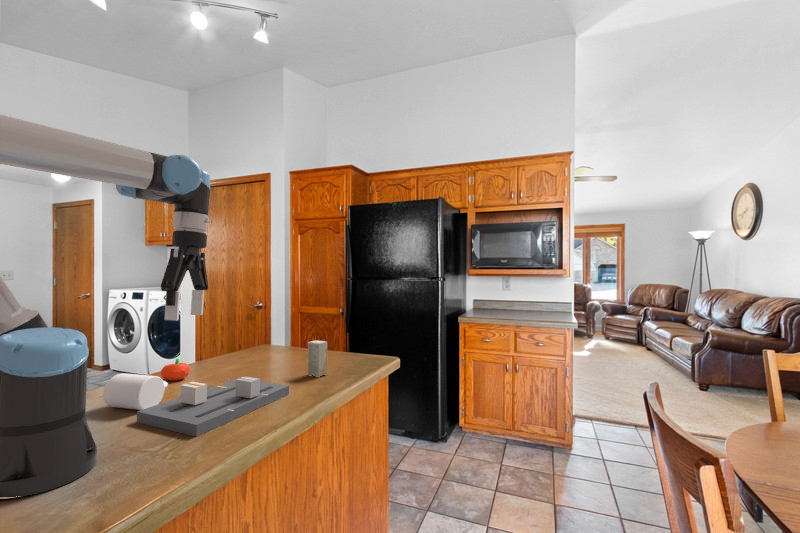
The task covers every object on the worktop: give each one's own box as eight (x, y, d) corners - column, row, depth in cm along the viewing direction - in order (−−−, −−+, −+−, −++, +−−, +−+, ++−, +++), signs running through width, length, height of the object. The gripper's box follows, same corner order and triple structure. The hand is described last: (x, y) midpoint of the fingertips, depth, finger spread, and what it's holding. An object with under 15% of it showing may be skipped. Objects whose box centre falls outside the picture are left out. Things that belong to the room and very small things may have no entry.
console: (199, 437, 79) (200, 425, 79) (136, 422, 86) (137, 410, 86) (291, 394, 107) (291, 385, 107) (238, 386, 114) (238, 377, 114)
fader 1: (195, 405, 90) (195, 387, 90) (180, 402, 91) (180, 384, 91) (206, 400, 93) (207, 383, 93) (191, 398, 94) (192, 380, 94)
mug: (137, 415, 90) (138, 381, 90) (102, 411, 92) (103, 377, 92) (176, 399, 102) (177, 368, 102) (144, 395, 104) (145, 366, 104)
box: (327, 375, 128) (328, 341, 128) (318, 378, 124) (319, 343, 124) (316, 372, 131) (316, 339, 131) (306, 375, 127) (307, 341, 127)
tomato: (158, 381, 119) (158, 360, 120) (187, 377, 124) (186, 356, 125) (163, 383, 114) (163, 361, 114) (193, 379, 119) (193, 357, 120)
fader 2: (250, 398, 95) (250, 381, 95) (235, 395, 97) (235, 378, 97) (259, 394, 98) (260, 378, 98) (244, 392, 100) (245, 375, 100)
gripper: (183, 225, 84) (176, 323, 83) (223, 237, 109) (219, 313, 108) (146, 223, 83) (139, 322, 82) (195, 236, 108) (191, 312, 107)
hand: (184, 317), depth 95 cm, fingers open, 13 cm apart
